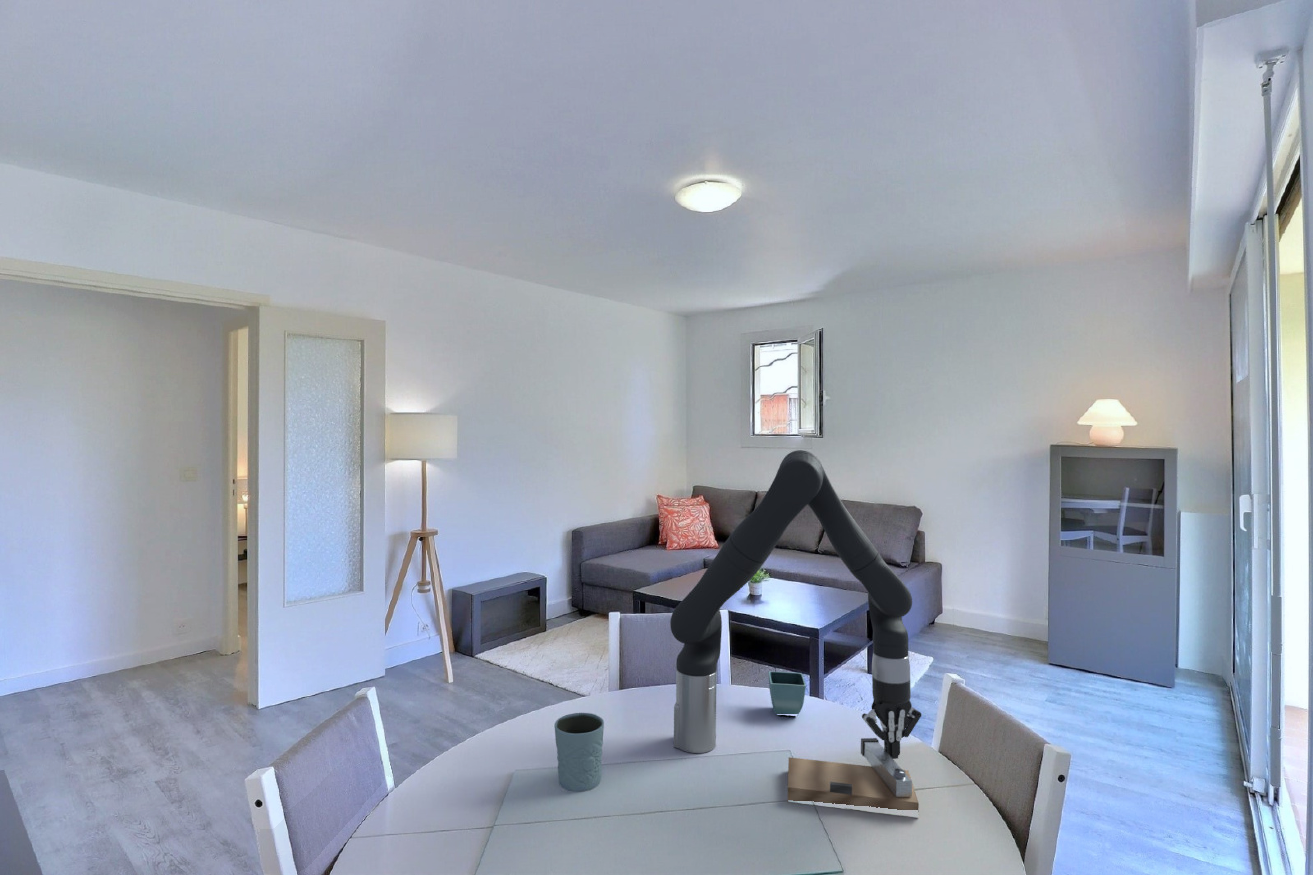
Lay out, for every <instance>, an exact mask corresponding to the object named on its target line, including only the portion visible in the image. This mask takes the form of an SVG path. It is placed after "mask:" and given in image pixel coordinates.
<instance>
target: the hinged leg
mask: <svg viewBox="0 0 1313 875" xmlns="http://www.w3.org/2000/svg"><path fill="white" fill-rule="evenodd" d="M879 742H880V741H879V739H878V738H877V737H865V738H863V737H862V738H861V737H860V754H861V755H862V757H864V758H865V759H866V760H867V762H868V763H869V766H872V767H873V768H874V770H875V771H876V772H877V773H878V775H879V776H880V777H881V778H882V780H883V781H884V782H885V783H886V785H887V786H888V787H889V789H890V790H891V791H892V792H893V794H894V795H895V796H896V797H912V784H913V780H912V778H911V779H910V778H909V777H908V776H907V775H906V774H905V771H904V770H905V769H902V768H901V766H900V765H898V763H897V762H896V760H895V759H892V757H891V756H890V755H889V754H888V753H887V752H886V751H885V749H884V747H883V746H882V745H881V744H880V743H879Z"/></svg>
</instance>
